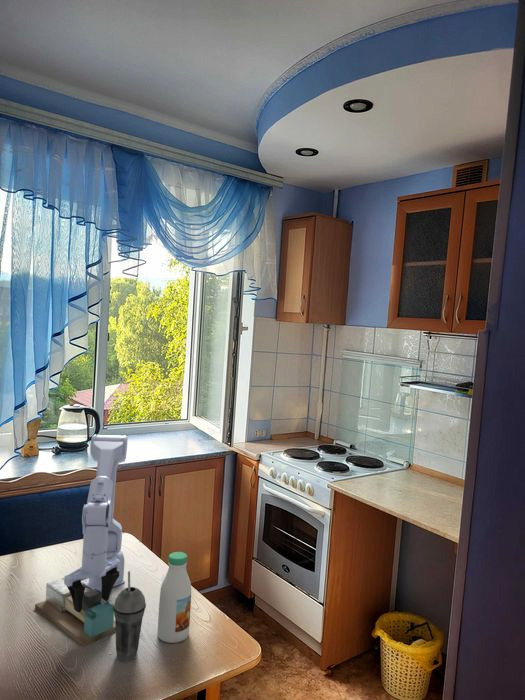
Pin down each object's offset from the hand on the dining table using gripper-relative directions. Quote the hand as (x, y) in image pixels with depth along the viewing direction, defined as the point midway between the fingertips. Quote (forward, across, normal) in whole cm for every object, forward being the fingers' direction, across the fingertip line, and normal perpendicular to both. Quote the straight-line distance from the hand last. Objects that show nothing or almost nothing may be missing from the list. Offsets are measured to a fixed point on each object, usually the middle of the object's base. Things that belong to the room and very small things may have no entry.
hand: (91, 604), depth 128 cm
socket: (+5, 0, -3) cm, 6 cm away
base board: (+6, 0, +6) cm, 9 cm away
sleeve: (+5, 0, +13) cm, 14 cm away
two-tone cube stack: (+4, 0, +3) cm, 5 cm away
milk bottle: (+6, +13, -16) cm, 22 cm away
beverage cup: (+6, 0, -15) cm, 16 cm away
